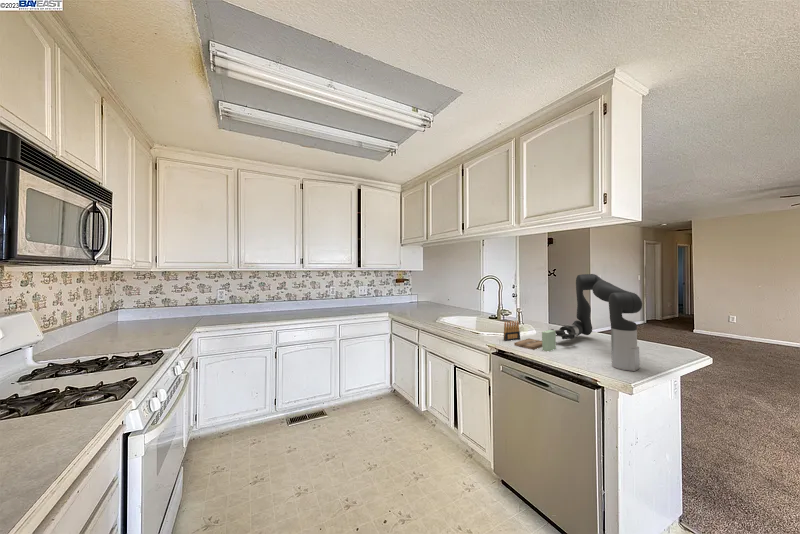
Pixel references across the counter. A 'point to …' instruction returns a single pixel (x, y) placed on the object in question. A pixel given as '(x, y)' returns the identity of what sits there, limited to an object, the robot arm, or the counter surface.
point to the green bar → (548, 340)
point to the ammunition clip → (511, 331)
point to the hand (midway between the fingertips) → (554, 335)
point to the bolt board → (529, 344)
